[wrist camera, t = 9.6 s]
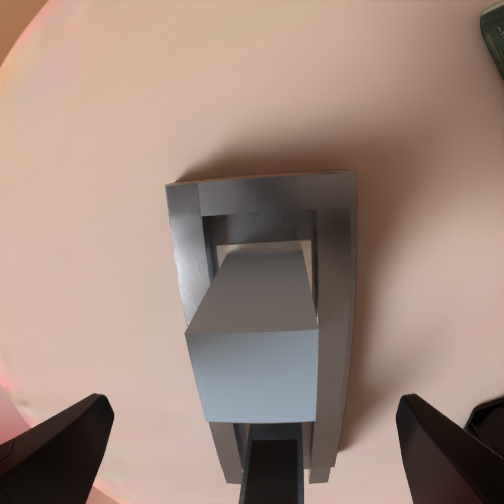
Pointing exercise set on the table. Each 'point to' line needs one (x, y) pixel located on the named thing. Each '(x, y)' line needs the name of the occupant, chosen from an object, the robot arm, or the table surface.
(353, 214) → the rail
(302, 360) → the grey block
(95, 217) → the table surface
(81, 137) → the table surface
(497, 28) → the coffee jar
